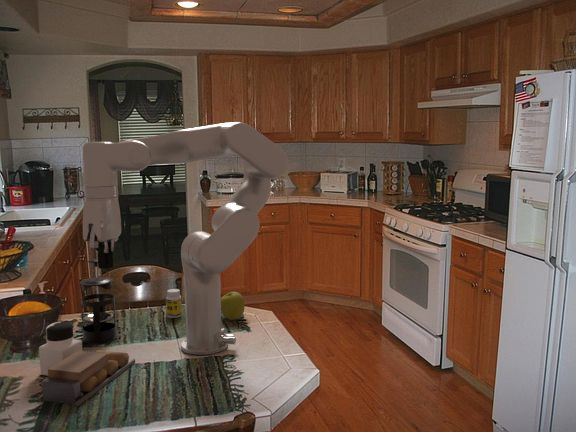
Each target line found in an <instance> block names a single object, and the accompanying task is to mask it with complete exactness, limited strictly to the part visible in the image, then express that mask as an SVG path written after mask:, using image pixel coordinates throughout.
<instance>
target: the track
mask: <svg viewBox="0 0 576 432" xmlns="http://www.w3.org/2000/svg"><path fill="white" fill-rule="evenodd" d="M95 352H96V353H107V354H108V364H107V365H106V366H105V367H103V368H102V369H100V370H99V371H97V372H96V373H95V374H93V375H92V376H95V377H96V378H97V387H95V388H94V389H93V390H91V391H90V392H86V394H84V392H81V391H80V394H81V398H80V399H79V400H78V401H76V402H75V405H74V406H76V407H79V406H80V405H81V404H83V403H84V402H86V401H87V400H88V399H90V398H91V397H92V396H94V395H95V394H96V393H97V392H98V391H100V390H102V389H103V387H105V386H107V385H108V384H109V383H111V381H113V380H115V378H117V377H118V376H119V375H121V374H122V373H123V372H125V371H126V370H127V369H129V368H130V367H131V366H133V365H134V364H135V363H136V359H135V358H134V359H133V358H132V359H131V360H130V355H129V353H128V352H120V351H110V350H100V349H98V350H95ZM119 368H120V369H119ZM108 376H109V377H108ZM42 401H43V393H42V394H40V396H38V397H37V402H42Z"/></svg>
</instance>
